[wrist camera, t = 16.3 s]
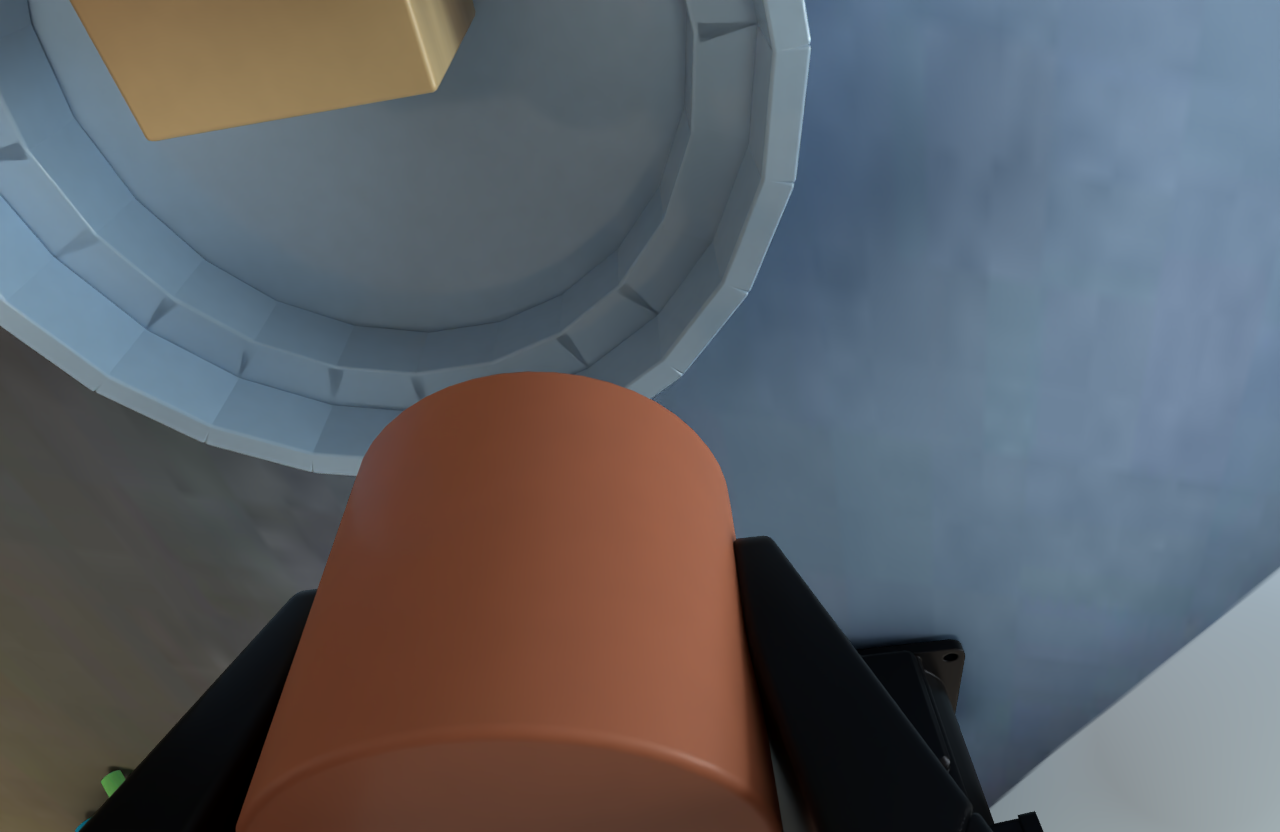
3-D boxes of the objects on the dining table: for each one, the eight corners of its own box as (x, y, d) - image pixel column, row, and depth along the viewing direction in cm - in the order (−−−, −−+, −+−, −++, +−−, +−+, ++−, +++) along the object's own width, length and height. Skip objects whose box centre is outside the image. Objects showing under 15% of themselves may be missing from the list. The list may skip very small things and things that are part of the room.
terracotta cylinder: (739, 607, 11) (792, 944, 8) (424, 643, 11) (355, 981, 8) (712, 340, 8) (777, 702, 5) (293, 397, 8) (110, 772, 5)
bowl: (786, 322, 20) (819, 426, 17) (201, 408, 21) (131, 520, 18) (739, -659, 10) (795, -834, 7) (-326, -404, 12) (-666, -461, 8)
